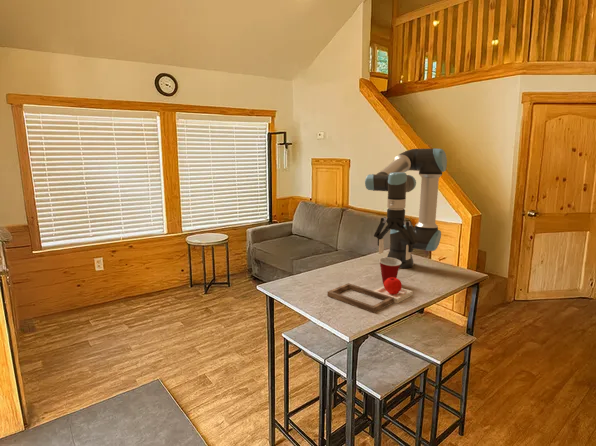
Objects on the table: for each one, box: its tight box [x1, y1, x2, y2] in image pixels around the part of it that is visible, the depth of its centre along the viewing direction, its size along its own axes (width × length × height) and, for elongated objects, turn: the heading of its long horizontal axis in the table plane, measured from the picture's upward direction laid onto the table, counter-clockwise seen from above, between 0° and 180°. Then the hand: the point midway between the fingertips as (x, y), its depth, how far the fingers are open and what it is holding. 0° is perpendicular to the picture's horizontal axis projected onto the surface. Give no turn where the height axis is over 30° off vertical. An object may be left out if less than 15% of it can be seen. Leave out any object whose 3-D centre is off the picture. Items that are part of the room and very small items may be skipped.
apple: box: [383, 277, 403, 294], centre depth 169 cm, size 8×8×7 cm
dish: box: [373, 285, 413, 304], centre depth 169 cm, size 12×12×2 cm
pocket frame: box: [327, 282, 395, 313], centre depth 165 cm, size 15×25×2 cm, turn 44°
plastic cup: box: [378, 256, 402, 285], centre depth 182 cm, size 11×11×12 cm
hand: (394, 256), depth 165 cm, fingers open, 13 cm apart
